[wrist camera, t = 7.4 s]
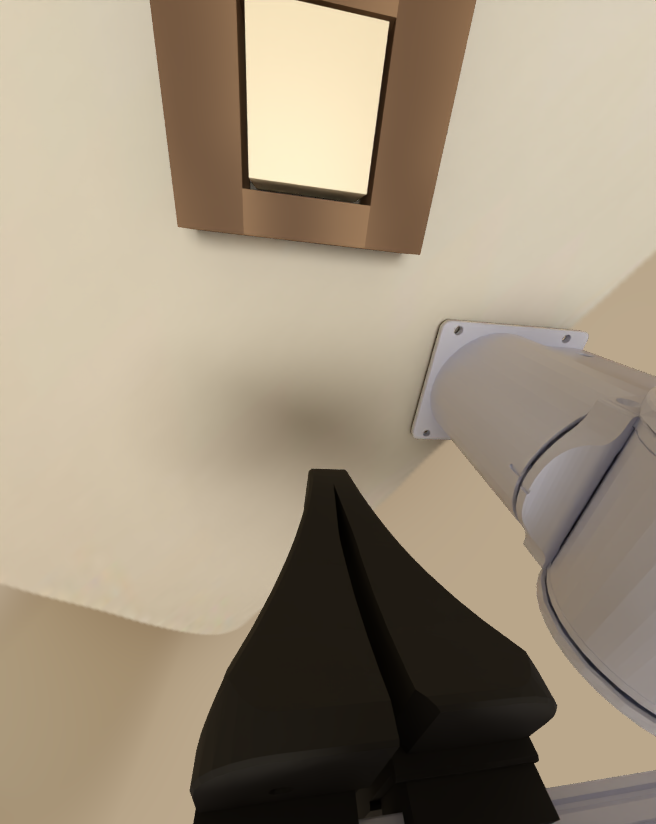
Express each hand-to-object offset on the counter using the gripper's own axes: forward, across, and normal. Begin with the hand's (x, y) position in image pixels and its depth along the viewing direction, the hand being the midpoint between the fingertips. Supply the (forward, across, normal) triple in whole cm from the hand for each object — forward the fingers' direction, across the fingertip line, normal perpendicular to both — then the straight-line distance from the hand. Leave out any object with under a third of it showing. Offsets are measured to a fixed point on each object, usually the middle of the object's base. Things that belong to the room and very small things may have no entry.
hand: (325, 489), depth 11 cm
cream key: (+8, +1, -12) cm, 15 cm away
